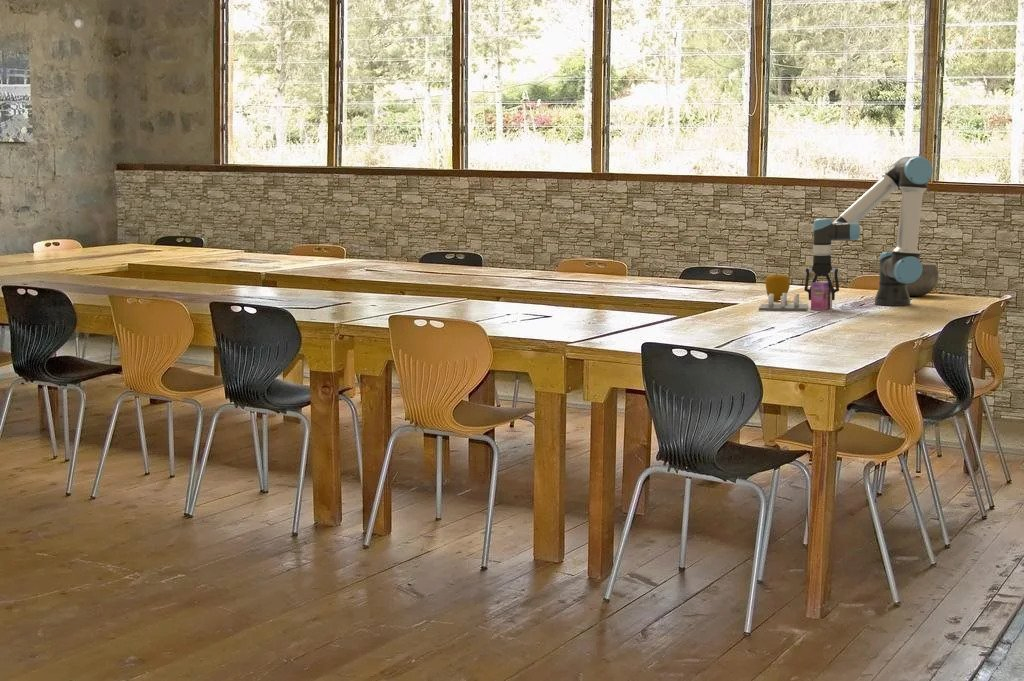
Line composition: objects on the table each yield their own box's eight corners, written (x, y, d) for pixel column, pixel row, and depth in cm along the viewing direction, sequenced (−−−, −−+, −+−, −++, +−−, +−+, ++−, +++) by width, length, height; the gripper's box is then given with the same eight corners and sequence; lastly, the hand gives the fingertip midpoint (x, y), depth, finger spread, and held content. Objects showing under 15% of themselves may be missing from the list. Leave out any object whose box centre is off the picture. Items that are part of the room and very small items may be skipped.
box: (823, 310, 542) (823, 283, 540) (810, 310, 545) (810, 282, 544) (832, 308, 550) (832, 281, 549) (820, 307, 554) (820, 280, 552)
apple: (792, 299, 591) (792, 272, 590) (784, 302, 582) (784, 274, 581) (770, 299, 597) (770, 271, 595) (761, 301, 588) (761, 273, 586)
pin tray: (808, 307, 558) (808, 292, 557) (806, 311, 541) (806, 296, 540) (761, 306, 563) (761, 292, 562) (758, 310, 546) (758, 296, 545)
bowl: (900, 293, 613) (900, 262, 611) (943, 295, 601) (944, 263, 599) (885, 297, 596) (885, 265, 594) (929, 298, 584) (930, 266, 582)
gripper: (846, 254, 546) (845, 307, 549) (798, 254, 551) (798, 306, 554) (846, 255, 539) (845, 308, 542) (797, 255, 544) (797, 308, 547)
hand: (821, 307), depth 548 cm, fingers closed on box, 7 cm apart
